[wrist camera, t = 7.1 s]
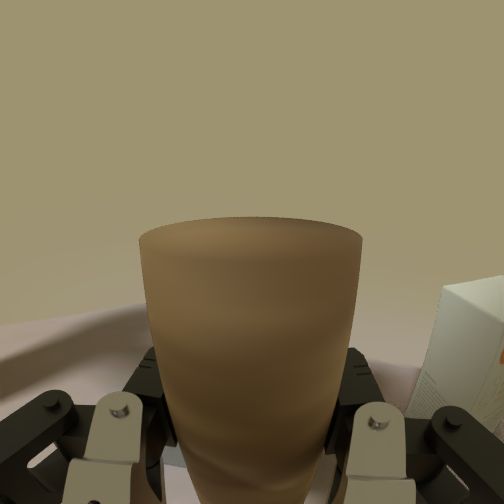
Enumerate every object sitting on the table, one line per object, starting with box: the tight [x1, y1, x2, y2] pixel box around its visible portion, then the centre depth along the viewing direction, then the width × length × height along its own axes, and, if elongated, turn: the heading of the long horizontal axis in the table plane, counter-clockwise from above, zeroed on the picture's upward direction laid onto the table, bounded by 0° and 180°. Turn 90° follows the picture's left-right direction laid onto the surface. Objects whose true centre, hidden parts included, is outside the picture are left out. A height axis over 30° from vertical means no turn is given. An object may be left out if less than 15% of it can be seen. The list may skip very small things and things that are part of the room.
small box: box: [404, 275, 504, 433], centre depth 14 cm, size 8×6×13 cm
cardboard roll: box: [139, 217, 362, 504], centre depth 7 cm, size 4×4×12 cm
